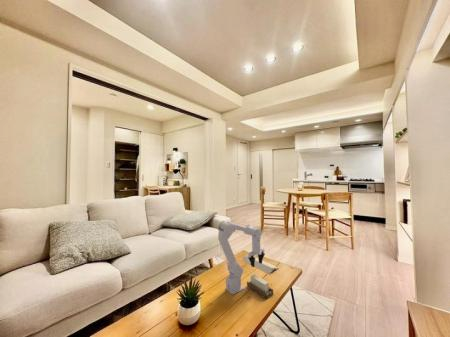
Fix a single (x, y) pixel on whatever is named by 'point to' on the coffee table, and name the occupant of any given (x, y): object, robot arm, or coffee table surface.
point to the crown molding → (264, 266)
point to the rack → (260, 290)
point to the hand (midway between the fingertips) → (256, 264)
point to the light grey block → (260, 283)
